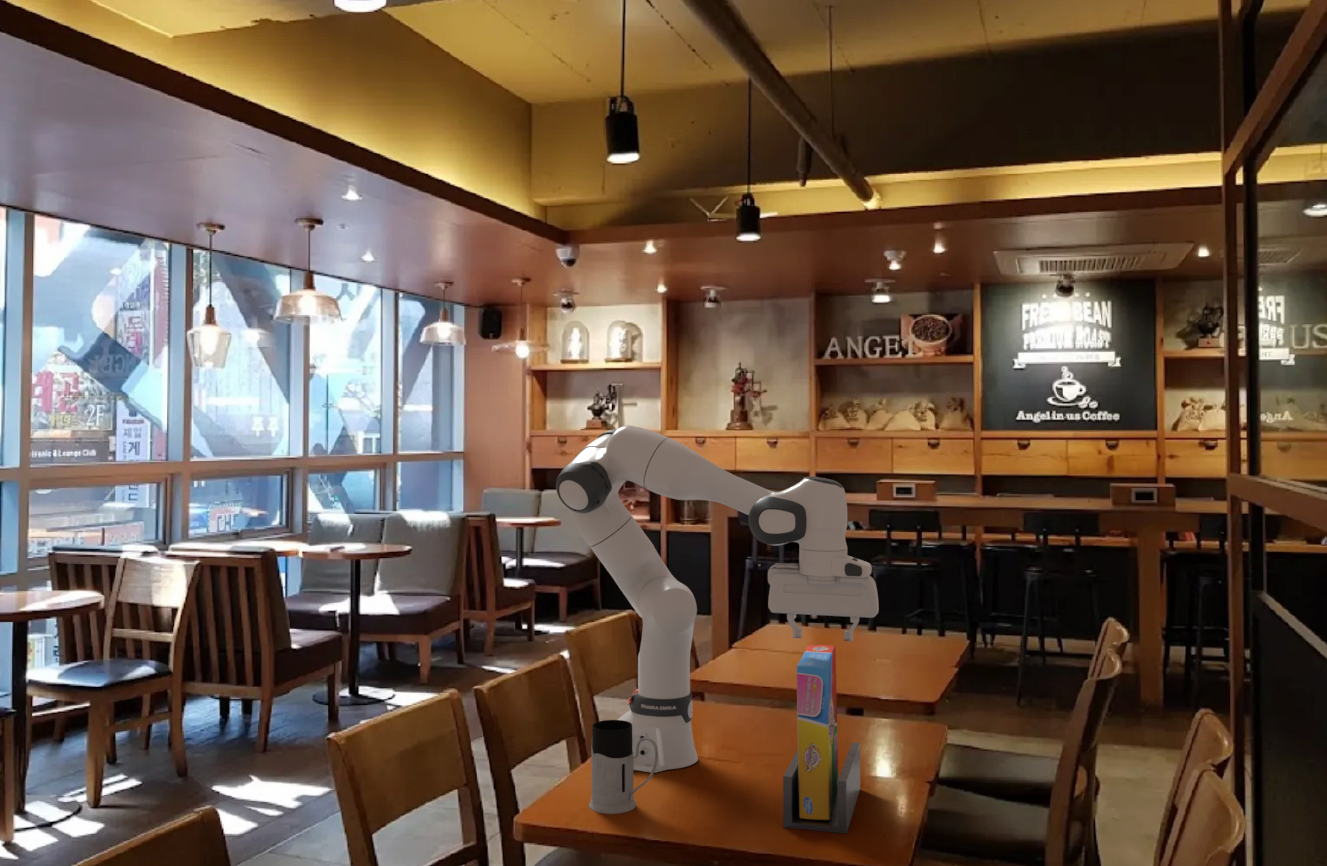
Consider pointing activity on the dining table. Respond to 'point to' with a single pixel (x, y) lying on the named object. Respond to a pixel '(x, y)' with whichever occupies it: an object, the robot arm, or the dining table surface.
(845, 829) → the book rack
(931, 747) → the dining table surface
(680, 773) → the dining table surface
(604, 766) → the glass holder
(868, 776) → the dining table surface
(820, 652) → the game box
